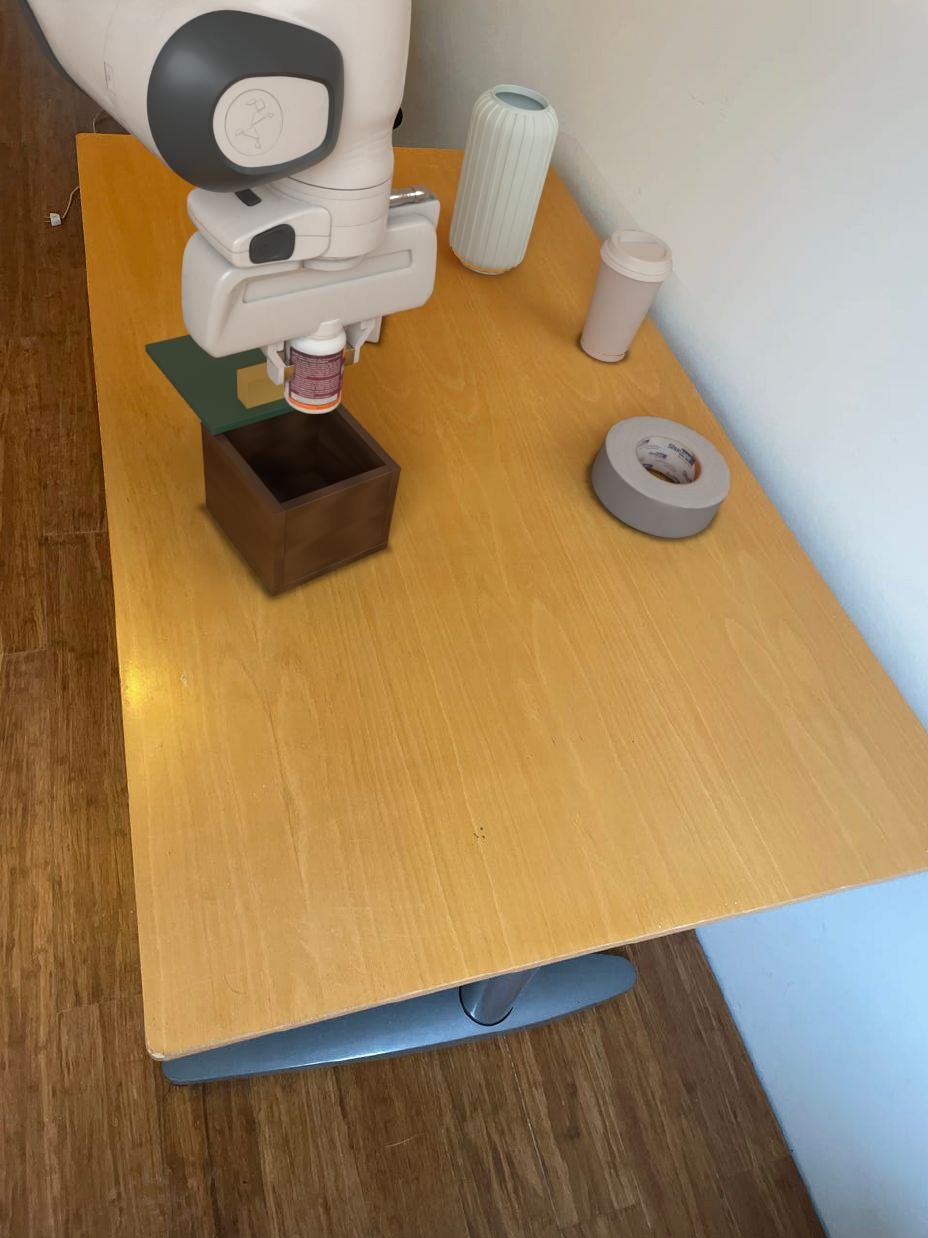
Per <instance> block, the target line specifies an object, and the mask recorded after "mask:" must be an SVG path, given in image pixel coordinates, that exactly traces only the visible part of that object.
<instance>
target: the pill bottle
mask: <svg viewBox="0 0 928 1238" xmlns="http://www.w3.org/2000/svg"><path fill="white" fill-rule="evenodd" d="M345 350H346V334H345V331H344V329H343V326H342V325H341V320H340V319H336V320H332V321H328V322H324V323H321V324H320V327H319V329H318V330H317V332H316V333H314V334H310V335H306V336H302V337H298V338H294V339H290V340H287V341H285V354H286V355H287V357H288V359H290V360H291V361H292V362H293V363H294V364H295V372H294V373H293V375H294V380H293V381H291V382H288V383H284V396H285V399H286V401H287V402H288V403H289V405H291V406H292V407H293V408H295V409H297V410H299V411H301V412H305V413H310V414H321V413H326V412H330V411H332V410H333V409H335V408H336V407H337V406H338V404H339V403H340V402H341V400H342V391H343V381H344V373H345V371H344V370H345V366H344V361H345Z"/></svg>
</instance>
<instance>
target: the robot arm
mask: <svg viewBox="0 0 928 1238" xmlns="http://www.w3.org/2000/svg"><path fill="white" fill-rule="evenodd" d="M16 2H17V3H18V6H19V9H20V10H21V13H22V15H23V17H24V20H25V22H26V24H27V26H28V28H29V31H30V32H31V34H32V36H33V38H34V41H35V42H36V44H37V46H38V48H39V49H40V51H41V52H42V55H44V57H45V58H46V60H47V62H48V63H49V64H50V65H51V66H52V67H53V69H54V70H55V71H56V72H57V73H58V74H59V75H60V76H61V77H62V78H63V79H64V80H65V81H66V82H68V83H69V84H70V85H72V87H74V88H76V89H77V90H78V91H79V92H81V93H82V94H84V95H85V96H86V97H87V98H89V99H90V100H92V101H93V102H95V103H96V104H97V105H99V106H100V107H101V108H102V109H103V110H104V111H105V112H106V113H107V114H108V115H109V116H111V117H112V118H113V119H114V120H115V121H116V122H117V123H118V124H119V125H120V126H121V127H123V128H124V129H125V130H126V131H127V132H128V133H129V134H130V135H131V136H132V137H133V138H134V139H136V140H137V141H138V142H139V143H140V144H141V145H142V146H143V147H144V148H145V149H146V150H147V151H148V152H149V153H151V154H152V155H153V156H154V157H155V158H156V159H157V160H159V161H160V162H161V163H162V164H163V165H164V166H165V167H167V168H168V169H169V170H170V171H171V172H173V173H174V174H175V175H177V176H178V177H180V178H181V179H182V180H183V181H185V182H186V183H188V184H190V185H191V186H194V188H193V189H192V190H191V191H190V192H189V193H188V195H187V197H186V210H187V215H188V218H189V219H190V221H191V222H192V223H193V225H194V227H195V228H196V229H197V230H196V231H195V232H193V233H192V235H191V236H190V237H189V239H188V240H187V242H186V245H185V248H184V251H183V254H182V255H183V256H182V265H181V284H180V285H181V286H180V287H181V288H180V289H181V290H180V291H181V292H180V293H181V294H180V295H181V296H180V297H181V298H180V299H181V313H182V322H183V325H184V327H185V329H186V331H187V333H188V335H189V334H190V335H191V337H192V338H193V339H194V341H195V342H196V343H197V344H198V345H199V346H200V347H201V348H202V349H203V350H205V351H206V352H207V353H208V354H210V355H211V356H213V357H215V358H219V357H224V356H228V355H231V354H235V353H239V352H243V351H247V350H251V349H255V348H260V349H261V350H262V352H263V353H264V355H265V356H266V357H267V374H268V376H269V378H270V379H271V380H272V381H273V382H274V383H275V385H281V384H284V383H288V382H291V381H293V380H294V375H293V373H294V372H295V364H294V363H293V362H292V361H291V360H290V359H288V357H287V355H286V354H285V353H284V352H280V353H277V351H282V350H283V349H284V341H287V340H290V339H294V338H298V337H302V336H306V335H310V334H314V333H316V332H317V330H318V329H319V327H320V324H321V323H324V322H328V321H332V320H336V319H340V320H341V325H342V326H346V325H347V326H346V328H345V330H344V331H345V334H346V350H345V361H344V367H347V366H352V365H356V364H357V363H359V359H360V354H361V353H360V351H361V347H363V345H364V343H365V342H366V341H365V340H366V339H367V337H368V336H369V334H370V333H371V332H372V330H373V329H374V327H375V320H376V318H377V317H381V316H382V317H385V316H389V315H393V314H397V313H400V312H401V313H402V312H404V311H405V312H406V311H408V310H413V309H417V308H420V307H423V306H424V305H425V304H426V303H427V302H428V300H429V299H430V298H431V296H432V294H433V292H434V288H435V281H436V271H437V259H438V258H437V256H438V237H437V236H438V235H437V228H438V225H439V218H440V212H441V203H440V201H439V198H438V196H437V194H436V193H435V192H434V191H432V190H430V189H429V188H428V186H427V185H424V184H414V185H411V186H408V187H406V188H392V186H393V179H394V178H393V177H394V171H395V170H394V169H395V153H394V148H393V147H394V146H393V129H394V124H395V120H396V118H397V115H398V113H399V110H400V108H401V106H402V102H403V99H404V94H405V93H404V92H405V84H406V77H407V67H408V60H409V49H410V47H409V46H410V40H411V39H410V38H411V26H412V25H411V23H412V0H16Z"/></svg>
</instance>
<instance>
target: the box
mask: <svg viewBox="0 0 928 1238" xmlns="http://www.w3.org/2000/svg"><path fill="white" fill-rule="evenodd" d="M200 432H201V433H200V434H201V449H202V463H203V476H204V477H203V479H204V493H205V508H206V509H207V511H208V512H209V513H210V515H211V516H212V518H213V519H214V520H215V521H216V523H217V524H218V526H220V528H221V529H222V530H223V532H224V533H225V535H226V536H227V537H228V538H229V540H230V541H231V542H232V544H233V545H234V546H235V548H236V549H237V550H238V552H239V553H240V555H241V556H242V557H243V559H244V560H245V561H246V562H247V564H248V566H249V567H251V569H252V570H253V572H254V573H255V574H256V575H257V577H258V579H260V581H261V582H262V583H263V585H264V586H265V587H266V589H267V590H268V591H269V593H270V594H271V595H272V597H275V596H278V595H280V594H283V593H285V592H287V591H290V590H293V589H295V588H296V587H299V586H302V585H304V584H306V583H308V582H311V581H313V580H316V579H317V578H320V577H323V576H325V575H327V574H329V573H332V572H333V571H337V570H338V569H341V568H343V567H346V566H348V565H350V564H353V563H355V562H357V561H359V560H361V559H365V558H366V557H368V556H371V555H374V554H377V553H378V552H380V551H383V550H385V549H387V546H388V541H389V535H390V530H391V525H392V520H393V515H394V514H393V513H394V509H395V503H396V498H397V493H398V489H399V488H398V487H399V482H400V477H401V471H402V467H401V466H400V465H399V464H398V463H397V461H396V460H395V459H394V458H393V457H392V456H391V455H390V454H389V453H388V452H387V451H386V450H385V449H384V448H383V447H382V445H381V444H380V443H379V442H378V441H377V440H376V438H374V437H373V436H372V435H371V434H370V433H369V431H367V429H366V428H365V427H364V426H363V425H362V423H360V422H359V421H358V420H357V418H356V417H355V416H354V415H353V414H352V413H351V412H350V411H349V410H348V409H347V408H346V406H345V405H344V404H343V403H342V402H341V401H340V403H339V404H338V406H337V407H336V408H335V409H333V410H332V411H330V412H326V413H321V414H310V413H305V412H301V411H299V410H295V411H291V412H288V413H285V414H282V415H278V416H275V417H272V418H268V419H265V420H262V421H259V422H255V423H252V424H249V425H245V426H242V427H239V428H236V429H232V430H229V431H226V432H223V433H219V434H216V435H212V434H211V432H210V431H209V430H208V429H207V427H206V426H205V425H204V424H203V423H202V421H201V420H200Z"/></svg>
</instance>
